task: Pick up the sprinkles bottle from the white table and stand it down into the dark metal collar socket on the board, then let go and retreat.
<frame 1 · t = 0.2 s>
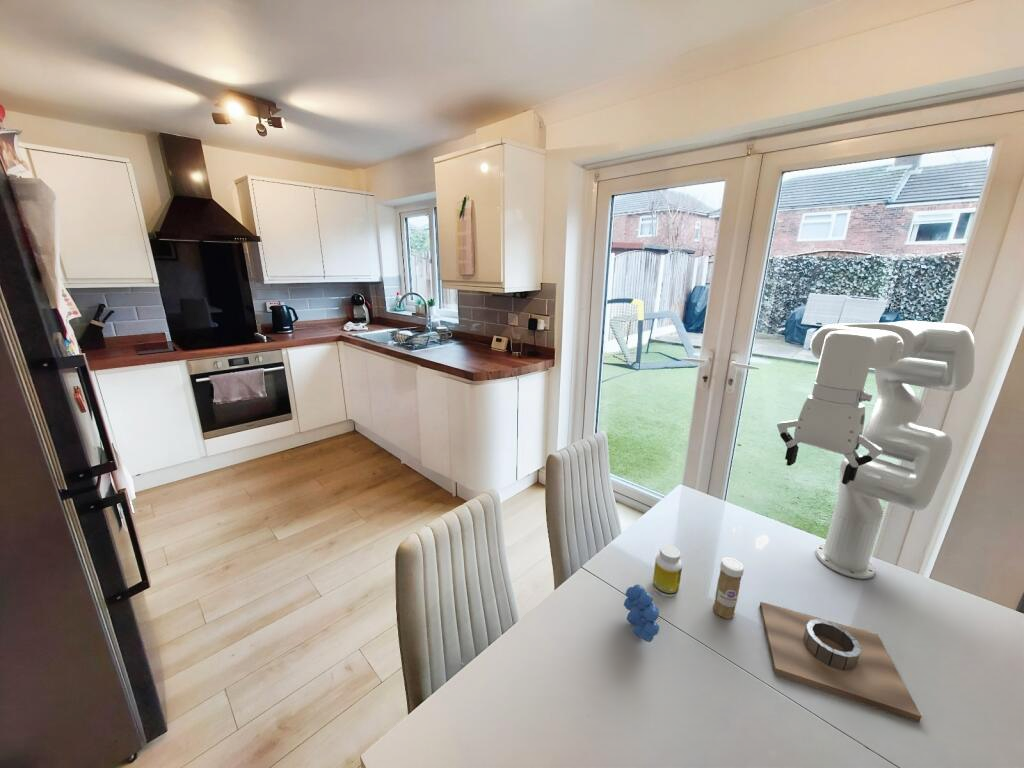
hand: (817, 472, 82), 37 cm above the table, tool pointing down, fingers open, 9 cm apart
collar: (831, 643, 81), on the socket board, point 3 cm above the table
sprinkles bottle: (723, 612, 93), on the table
socket board: (827, 656, 82), on the table
pill bottle: (665, 589, 99), on the table
grapes: (642, 634, 87), on the table
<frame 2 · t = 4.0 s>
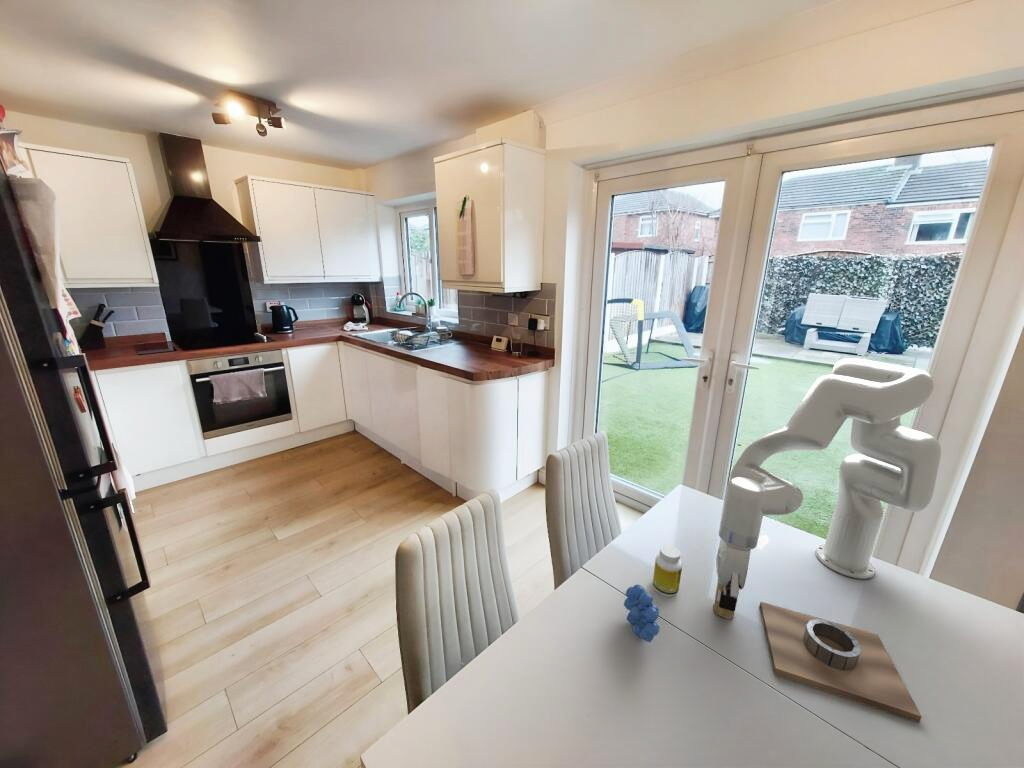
hand: (725, 599, 92), 3 cm above the table, tool pointing down, fingers closed on sprinkles bottle, 4 cm apart
sprinkles bottle: (723, 612, 93), on the table, touching gripper
everything else where it was.
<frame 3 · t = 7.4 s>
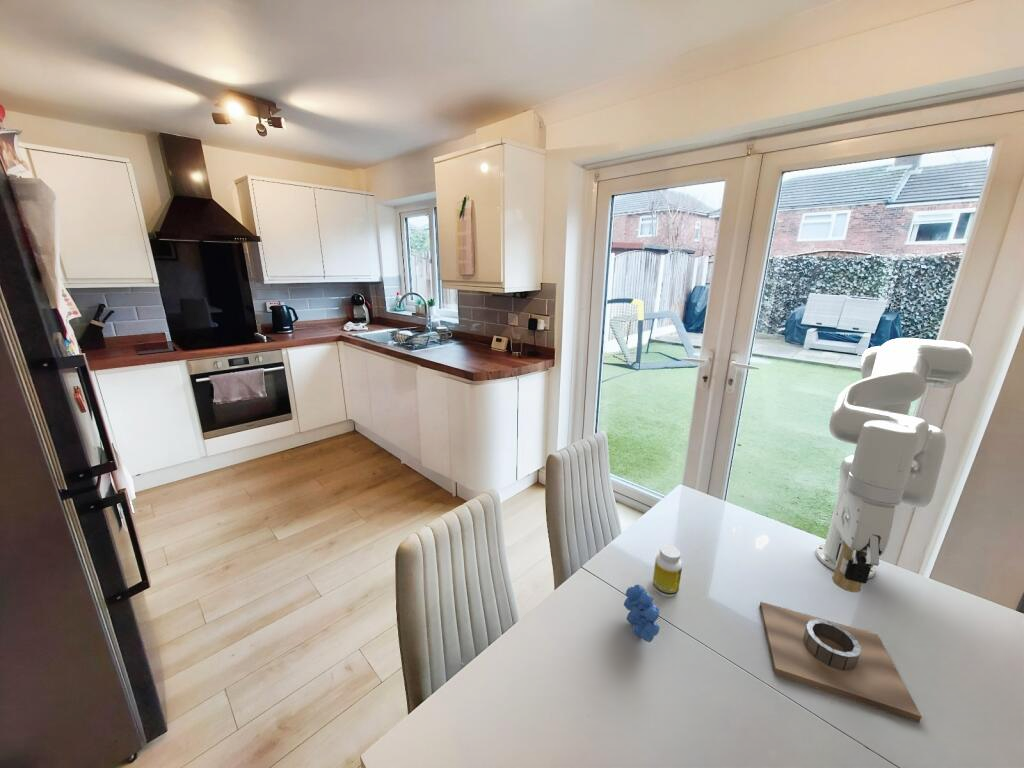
hand: (850, 570, 77), 21 cm above the table, tool pointing down, fingers closed on sprinkles bottle, 4 cm apart
sprinkles bottle: (845, 585, 78), point 18 cm above the table, touching gripper
everything else where it was.
when the fingers open (7 cm above the table, at t = 10.9 s): sprinkles bottle drops 2 cm, resting on socket board.
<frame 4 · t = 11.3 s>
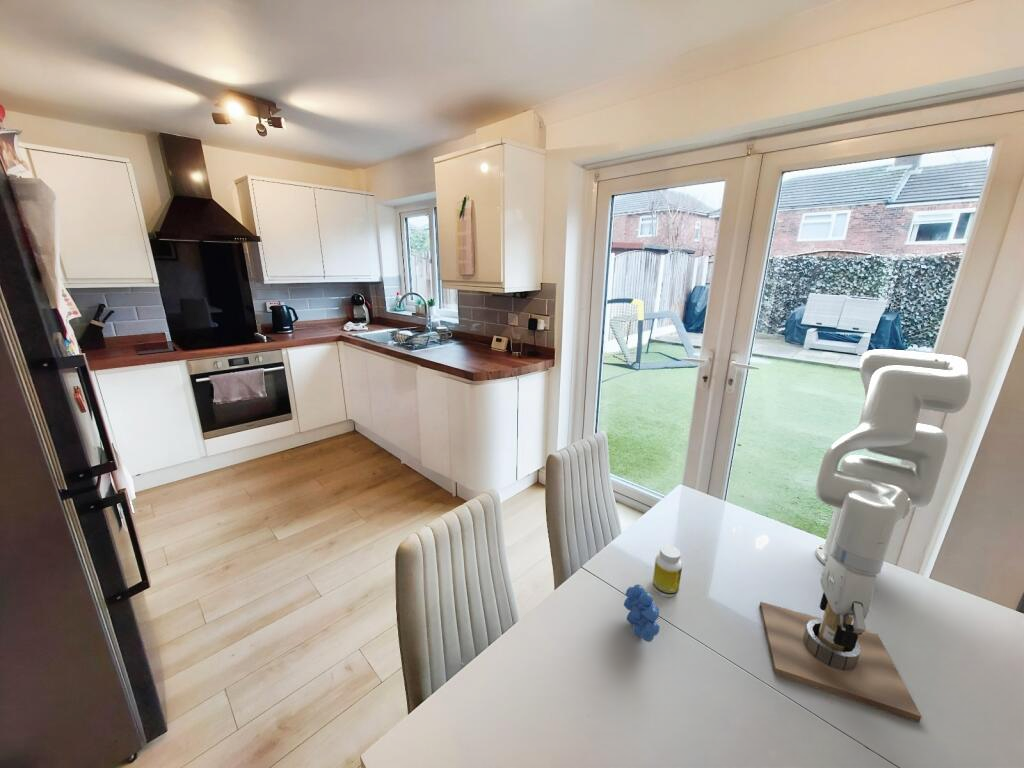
hand: (835, 627, 80), 8 cm above the table, tool pointing down, fingers open, 8 cm apart
sprinkles bottle: (828, 649, 82), point 1 cm above the table, touching socket board
everything else where it was.
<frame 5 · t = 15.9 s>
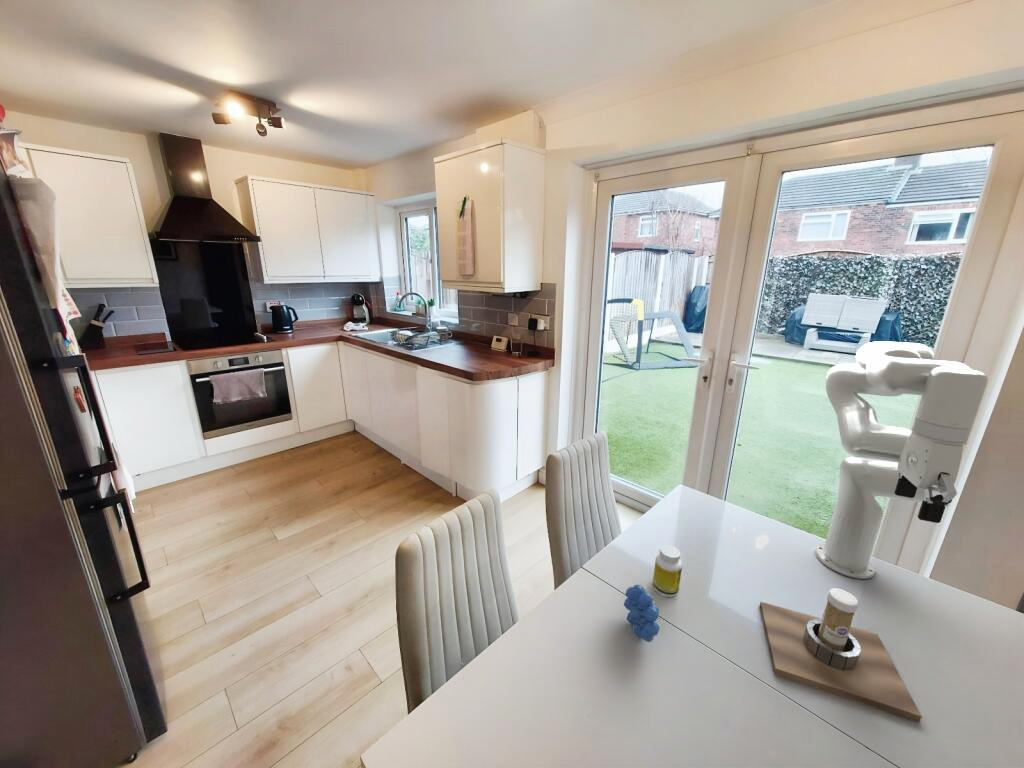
hand: (915, 507, 81), 30 cm above the table, tool pointing down, fingers open, 9 cm apart
nothing on the table moved.
at the end: sprinkles bottle 0.4 cm off-centre on the collar, point 1.3 cm above the collar's base; sprinkles bottle tilted 0°; the gripper is holding nothing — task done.
